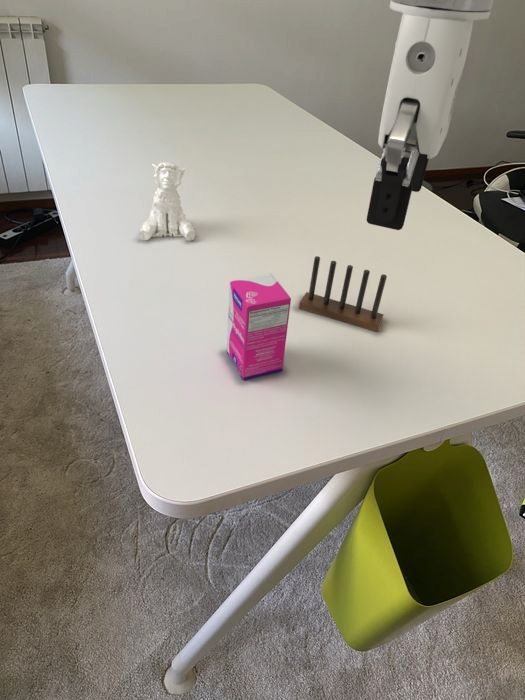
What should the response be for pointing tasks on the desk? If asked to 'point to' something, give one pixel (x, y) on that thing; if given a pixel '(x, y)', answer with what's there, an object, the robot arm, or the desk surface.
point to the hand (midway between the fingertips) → (395, 205)
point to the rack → (343, 300)
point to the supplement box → (257, 325)
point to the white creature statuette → (167, 206)
